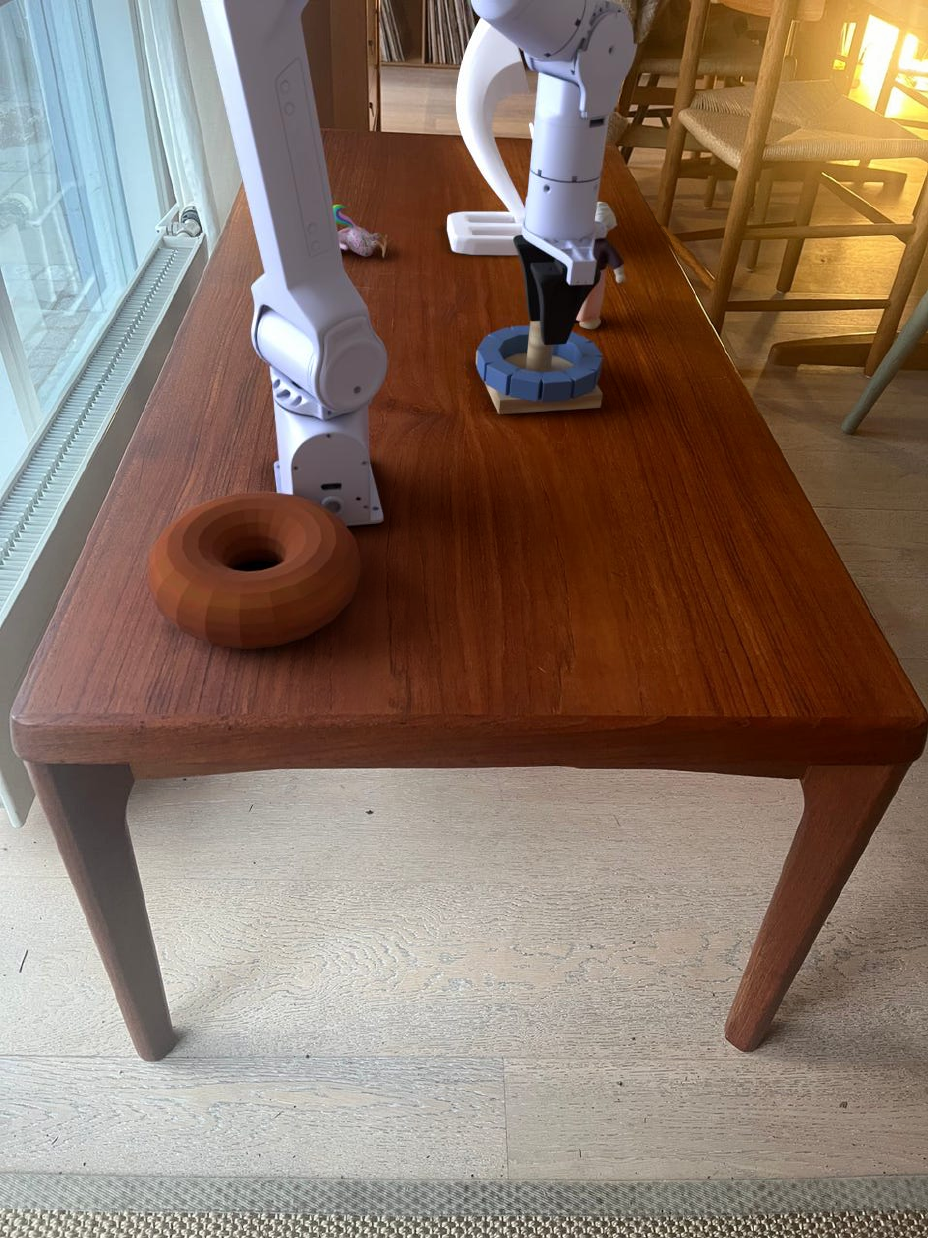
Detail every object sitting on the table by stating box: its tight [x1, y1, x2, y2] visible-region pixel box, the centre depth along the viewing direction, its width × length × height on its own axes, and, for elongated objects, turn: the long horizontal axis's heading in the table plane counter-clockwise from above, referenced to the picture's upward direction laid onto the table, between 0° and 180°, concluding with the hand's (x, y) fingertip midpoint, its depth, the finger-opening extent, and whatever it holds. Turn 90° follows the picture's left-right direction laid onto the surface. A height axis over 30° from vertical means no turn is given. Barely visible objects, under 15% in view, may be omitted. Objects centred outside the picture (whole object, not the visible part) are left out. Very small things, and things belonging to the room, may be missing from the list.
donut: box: [146, 490, 362, 650], centre depth 69 cm, size 15×15×5 cm
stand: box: [475, 320, 604, 415], centre depth 93 cm, size 10×10×8 cm
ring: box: [476, 324, 604, 402], centre depth 93 cm, size 12×12×2 cm
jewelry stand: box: [446, 17, 534, 256], centre depth 118 cm, size 25×16×25 cm, turn 6°
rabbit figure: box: [333, 204, 388, 259], centre depth 115 cm, size 6×6×15 cm
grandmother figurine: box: [576, 201, 627, 330], centre depth 102 cm, size 8×4×13 cm, turn 62°
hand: (547, 330), depth 87 cm, fingers open, 4 cm apart
